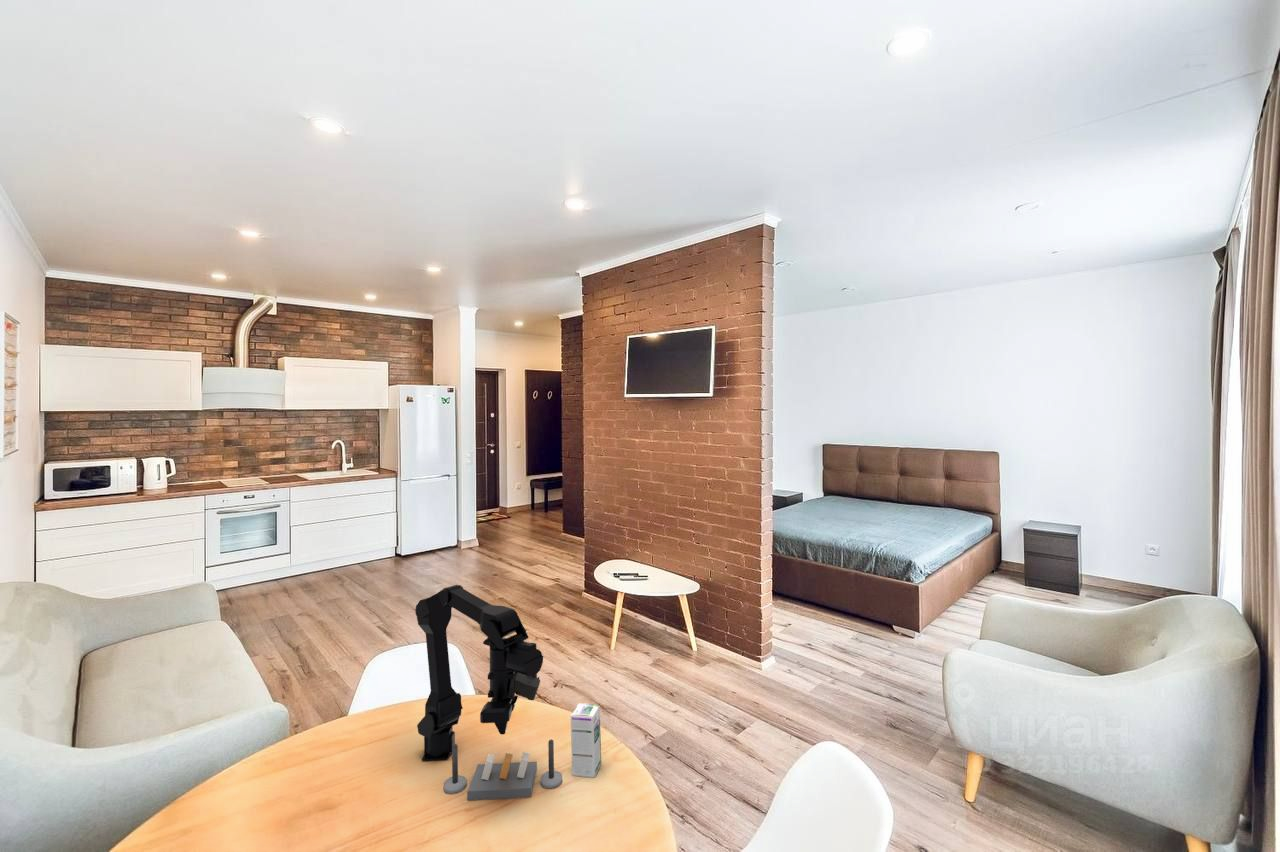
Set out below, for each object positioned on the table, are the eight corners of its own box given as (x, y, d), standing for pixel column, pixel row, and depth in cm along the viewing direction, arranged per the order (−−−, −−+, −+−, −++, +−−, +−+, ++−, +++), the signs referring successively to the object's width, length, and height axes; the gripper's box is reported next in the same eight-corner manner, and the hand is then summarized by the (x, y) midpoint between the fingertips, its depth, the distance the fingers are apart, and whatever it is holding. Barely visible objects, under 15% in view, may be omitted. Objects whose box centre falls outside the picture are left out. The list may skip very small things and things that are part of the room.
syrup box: (595, 778, 127) (594, 716, 127) (571, 775, 128) (570, 713, 129) (601, 764, 133) (600, 704, 133) (578, 761, 134) (577, 702, 134)
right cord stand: (539, 789, 123) (538, 746, 124) (541, 776, 128) (541, 734, 129) (561, 788, 124) (560, 745, 124) (563, 775, 129) (562, 733, 129)
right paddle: (516, 776, 124) (521, 759, 124) (518, 768, 127) (523, 752, 127) (523, 778, 124) (528, 761, 124) (525, 770, 127) (529, 753, 127)
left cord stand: (440, 795, 122) (440, 751, 122) (447, 781, 127) (447, 738, 127) (463, 793, 122) (462, 749, 123) (468, 779, 127) (468, 737, 128)
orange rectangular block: (499, 777, 124) (503, 760, 124) (501, 769, 127) (505, 752, 127) (505, 779, 124) (510, 762, 124) (508, 771, 127) (512, 754, 127)
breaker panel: (467, 800, 120) (467, 791, 120) (478, 772, 130) (477, 764, 130) (531, 797, 121) (530, 788, 121) (536, 769, 131) (536, 761, 131)
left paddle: (481, 778, 124) (485, 761, 124) (484, 770, 127) (488, 753, 127) (488, 780, 124) (492, 762, 124) (491, 772, 127) (495, 755, 127)
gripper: (531, 682, 117) (532, 755, 117) (542, 648, 136) (542, 711, 135) (479, 684, 116) (479, 758, 116) (497, 650, 135) (497, 713, 135)
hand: (502, 733), depth 126 cm, fingers closed
